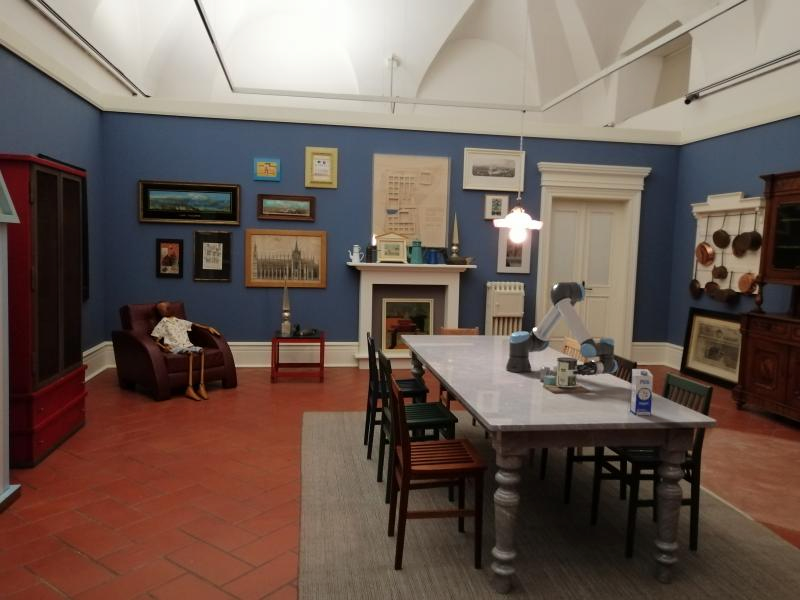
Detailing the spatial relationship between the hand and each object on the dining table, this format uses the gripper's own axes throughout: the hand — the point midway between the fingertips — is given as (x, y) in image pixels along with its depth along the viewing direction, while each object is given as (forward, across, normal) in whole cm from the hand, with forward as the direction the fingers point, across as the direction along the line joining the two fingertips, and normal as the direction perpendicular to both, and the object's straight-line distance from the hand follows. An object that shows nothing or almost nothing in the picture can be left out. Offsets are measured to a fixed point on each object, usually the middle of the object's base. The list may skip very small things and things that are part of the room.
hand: (560, 370), depth 301 cm
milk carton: (-5, -48, -11) cm, 50 cm away
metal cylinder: (-6, +20, -10) cm, 23 cm away
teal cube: (-3, +11, -11) cm, 16 cm away
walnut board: (-4, 0, -10) cm, 11 cm away
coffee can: (-4, 0, -8) cm, 9 cm away
